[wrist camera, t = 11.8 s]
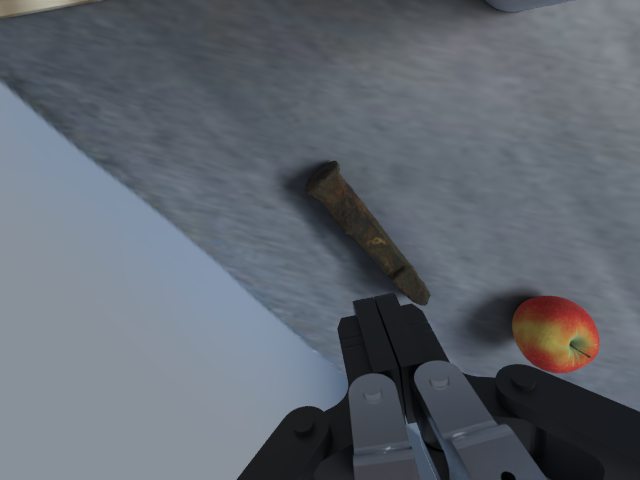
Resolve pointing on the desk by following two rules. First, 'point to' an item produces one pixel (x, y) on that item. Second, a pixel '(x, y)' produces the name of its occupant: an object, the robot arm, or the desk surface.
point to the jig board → (35, 6)
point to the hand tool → (365, 230)
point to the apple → (555, 334)
